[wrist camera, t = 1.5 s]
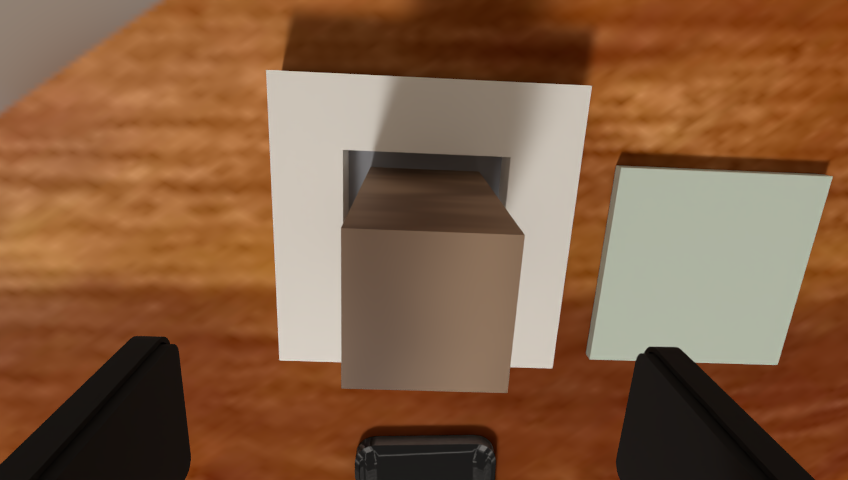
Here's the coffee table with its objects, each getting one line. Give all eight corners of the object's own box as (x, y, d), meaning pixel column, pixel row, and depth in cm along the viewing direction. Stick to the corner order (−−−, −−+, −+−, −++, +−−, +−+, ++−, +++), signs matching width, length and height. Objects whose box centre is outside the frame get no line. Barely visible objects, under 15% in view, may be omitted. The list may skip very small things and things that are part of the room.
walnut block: (479, 171, 23) (524, 235, 14) (470, 272, 25) (507, 392, 15) (370, 166, 23) (340, 228, 14) (369, 268, 25) (341, 388, 15)
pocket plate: (573, 85, 23) (591, 85, 20) (540, 343, 27) (552, 368, 24) (281, 71, 22) (266, 69, 20) (291, 335, 26) (279, 360, 24)
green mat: (822, 174, 24) (832, 176, 24) (769, 358, 27) (777, 364, 27) (616, 165, 24) (621, 167, 23) (585, 353, 27) (589, 359, 26)
